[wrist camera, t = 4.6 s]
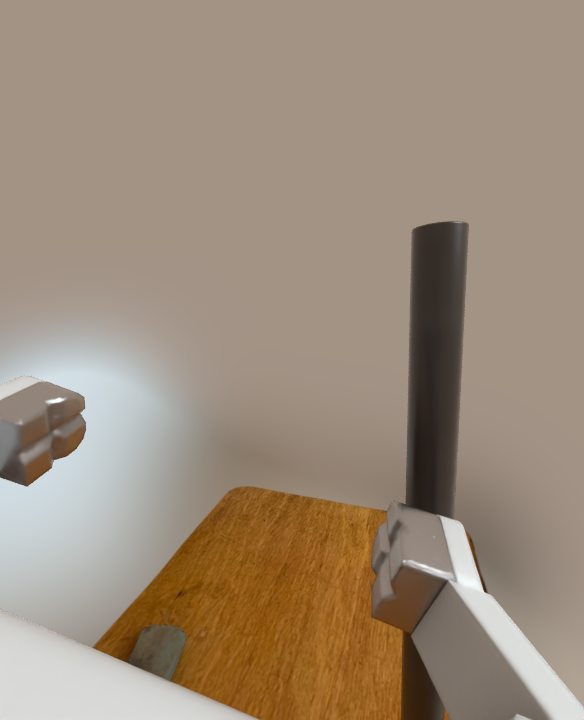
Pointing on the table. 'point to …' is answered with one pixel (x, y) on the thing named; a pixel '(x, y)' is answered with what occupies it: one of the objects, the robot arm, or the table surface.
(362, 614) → the table surface
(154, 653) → the stone
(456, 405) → the stick
